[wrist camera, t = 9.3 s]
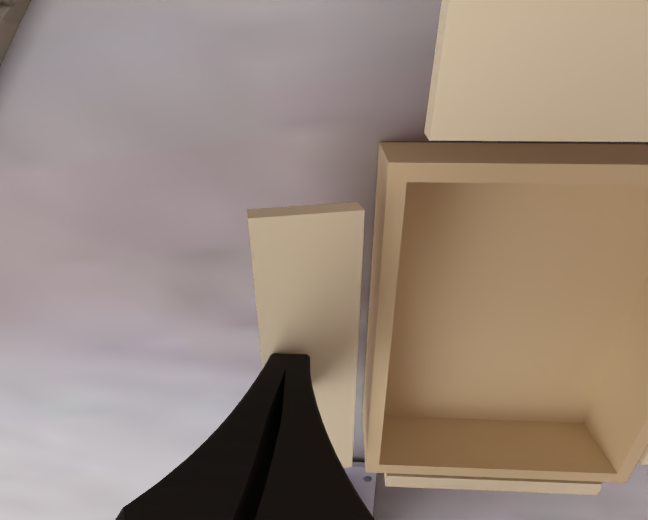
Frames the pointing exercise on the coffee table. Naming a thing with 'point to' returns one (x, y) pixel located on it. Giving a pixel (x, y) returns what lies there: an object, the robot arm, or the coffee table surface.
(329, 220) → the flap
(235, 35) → the coffee table surface
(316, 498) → the robot arm
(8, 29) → the packaged product
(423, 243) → the carton
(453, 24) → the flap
